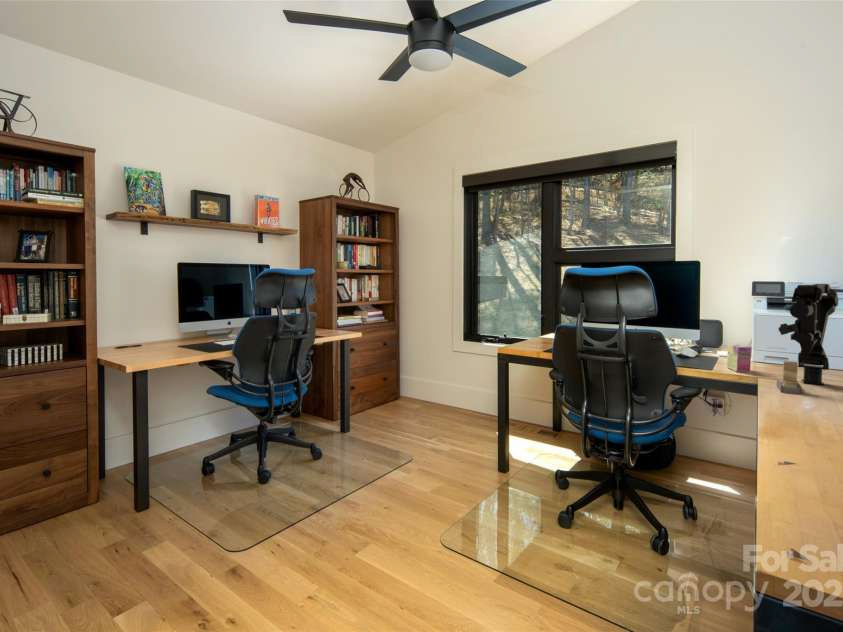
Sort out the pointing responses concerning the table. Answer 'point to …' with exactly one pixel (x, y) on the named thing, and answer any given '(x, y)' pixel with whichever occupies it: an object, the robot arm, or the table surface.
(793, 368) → the oak block
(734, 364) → the box
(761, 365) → the table surface
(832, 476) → the table surface
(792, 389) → the trap lane
